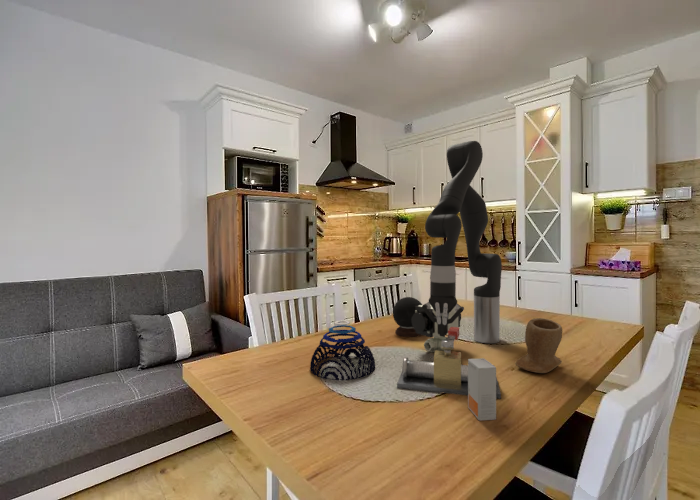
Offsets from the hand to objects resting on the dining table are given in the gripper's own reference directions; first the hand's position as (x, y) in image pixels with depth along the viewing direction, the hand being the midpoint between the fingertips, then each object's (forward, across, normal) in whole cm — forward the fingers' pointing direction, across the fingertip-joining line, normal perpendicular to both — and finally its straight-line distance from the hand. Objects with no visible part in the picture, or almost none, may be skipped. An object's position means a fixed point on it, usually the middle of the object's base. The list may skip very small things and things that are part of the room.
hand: (442, 335), depth 112 cm
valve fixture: (+10, -4, +12) cm, 16 cm away
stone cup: (+10, -28, -11) cm, 31 cm away
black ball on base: (+10, +20, -33) cm, 40 cm away
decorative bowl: (+10, +28, +12) cm, 33 cm away
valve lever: (0, -4, +6) cm, 7 cm away
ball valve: (+10, +4, -15) cm, 19 cm away
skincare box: (+10, -14, +26) cm, 31 cm away
